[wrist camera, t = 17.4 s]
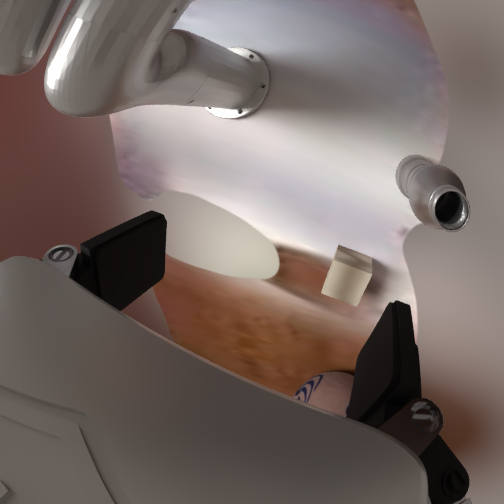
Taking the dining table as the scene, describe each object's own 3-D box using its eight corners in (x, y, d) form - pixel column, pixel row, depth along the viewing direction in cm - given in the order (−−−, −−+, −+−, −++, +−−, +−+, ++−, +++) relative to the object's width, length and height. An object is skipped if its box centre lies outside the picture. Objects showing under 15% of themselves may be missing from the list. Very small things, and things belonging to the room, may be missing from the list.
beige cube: (326, 275, 47) (321, 293, 42) (338, 244, 44) (334, 259, 39) (360, 287, 46) (358, 307, 41) (373, 258, 43) (373, 275, 38)
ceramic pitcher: (384, 399, 53) (370, 495, 32) (307, 413, 64) (275, 494, 43) (360, 349, 50) (338, 461, 29) (274, 370, 61) (228, 458, 40)
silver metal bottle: (415, 144, 33) (456, 154, 17) (442, 181, 34) (495, 220, 17) (385, 171, 37) (401, 201, 20) (412, 206, 37) (443, 263, 20)
